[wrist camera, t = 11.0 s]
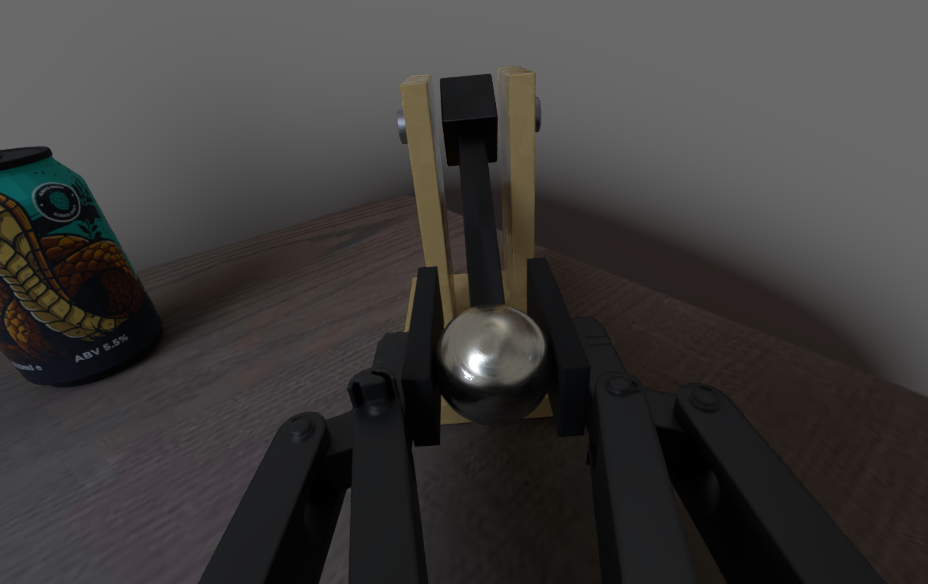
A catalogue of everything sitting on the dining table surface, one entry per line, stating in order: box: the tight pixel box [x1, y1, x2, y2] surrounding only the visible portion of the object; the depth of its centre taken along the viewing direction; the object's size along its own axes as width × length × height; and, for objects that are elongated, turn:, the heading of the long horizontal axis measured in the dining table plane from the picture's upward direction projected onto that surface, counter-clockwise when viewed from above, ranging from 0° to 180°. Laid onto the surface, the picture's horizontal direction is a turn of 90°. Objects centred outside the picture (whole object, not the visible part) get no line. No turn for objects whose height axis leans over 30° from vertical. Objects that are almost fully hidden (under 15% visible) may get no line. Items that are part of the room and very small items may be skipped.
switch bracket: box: [397, 66, 553, 425], centre depth 21 cm, size 12×9×14 cm
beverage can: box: [0, 146, 163, 387], centre depth 23 cm, size 7×7×12 cm
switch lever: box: [433, 74, 554, 425], centre depth 15 cm, size 14×4×4 cm, turn 1°
